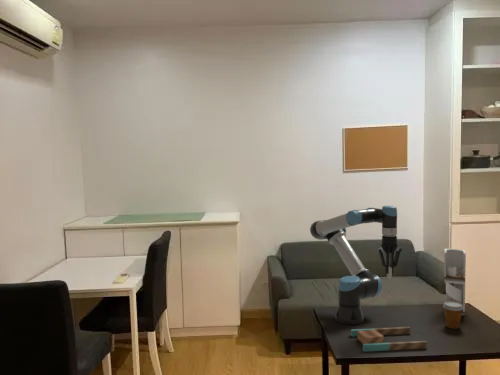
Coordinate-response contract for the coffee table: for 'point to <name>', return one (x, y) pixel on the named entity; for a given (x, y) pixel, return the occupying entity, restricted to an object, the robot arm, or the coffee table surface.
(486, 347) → the coffee table surface
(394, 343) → the lane walls
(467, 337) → the coffee table surface
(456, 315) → the disposable coffee cup
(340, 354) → the coffee table surface
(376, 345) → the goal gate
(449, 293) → the white open shelf
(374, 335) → the wooden block
